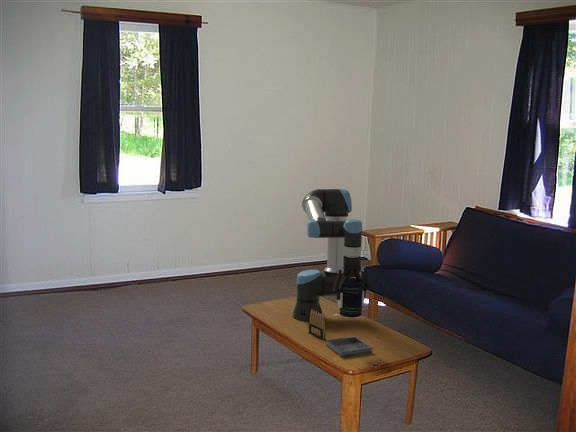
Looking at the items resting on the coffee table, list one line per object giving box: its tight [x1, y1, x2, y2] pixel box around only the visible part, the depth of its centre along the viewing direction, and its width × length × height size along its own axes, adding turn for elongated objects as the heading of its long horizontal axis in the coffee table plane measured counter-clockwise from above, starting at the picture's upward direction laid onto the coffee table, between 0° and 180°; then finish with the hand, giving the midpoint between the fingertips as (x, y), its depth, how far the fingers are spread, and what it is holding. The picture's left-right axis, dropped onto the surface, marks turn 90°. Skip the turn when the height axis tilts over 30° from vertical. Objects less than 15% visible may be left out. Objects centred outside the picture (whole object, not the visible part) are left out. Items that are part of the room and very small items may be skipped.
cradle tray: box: [325, 335, 373, 358], centre depth 290 cm, size 15×15×2 cm
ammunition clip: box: [308, 309, 326, 341], centre depth 305 cm, size 11×2×12 cm, turn 35°
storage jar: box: [338, 277, 364, 318], centre depth 286 cm, size 10×10×15 cm
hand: (350, 305), depth 287 cm, fingers closed on storage jar, 10 cm apart
